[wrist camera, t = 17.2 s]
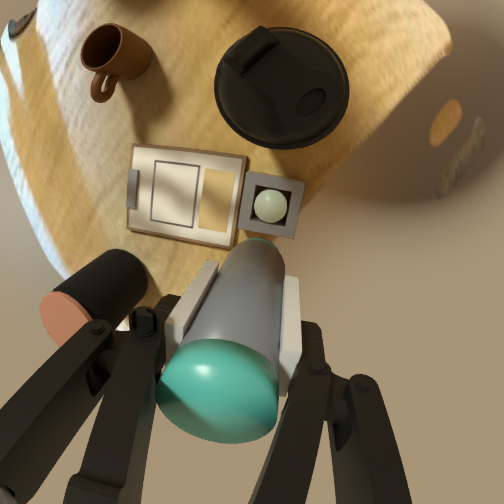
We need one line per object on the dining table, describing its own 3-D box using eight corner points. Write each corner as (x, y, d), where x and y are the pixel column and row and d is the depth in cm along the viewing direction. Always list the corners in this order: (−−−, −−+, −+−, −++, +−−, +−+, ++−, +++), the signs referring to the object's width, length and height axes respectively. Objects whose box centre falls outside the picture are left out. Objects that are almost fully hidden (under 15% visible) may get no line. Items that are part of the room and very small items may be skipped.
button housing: (248, 170, 40) (246, 172, 38) (304, 181, 40) (305, 183, 38) (240, 223, 43) (237, 228, 41) (293, 233, 43) (293, 239, 41)
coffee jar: (99, 288, 51) (44, 339, 34) (102, 238, 47) (35, 281, 30) (146, 308, 51) (98, 370, 34) (154, 257, 47) (96, 313, 30)
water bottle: (284, 163, 40) (282, 183, 18) (232, 114, 38) (171, 82, 16) (335, 115, 36) (390, 83, 15) (282, 66, 35) (276, -14, 13)
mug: (144, 106, 38) (111, 100, 30) (105, 107, 39) (69, 103, 30) (157, 37, 34) (129, 18, 25) (118, 41, 34) (86, 27, 26)
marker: (234, 226, 21) (154, 350, 8) (292, 240, 21) (294, 386, 8) (224, 278, 23) (156, 424, 10) (277, 292, 23) (260, 451, 10)
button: (259, 184, 41) (257, 187, 38) (289, 190, 41) (289, 194, 38) (254, 214, 43) (251, 219, 40) (283, 219, 42) (283, 225, 40)
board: (134, 143, 41) (129, 143, 39) (247, 156, 40) (246, 156, 38) (128, 227, 46) (124, 230, 44) (233, 248, 45) (231, 251, 43)
